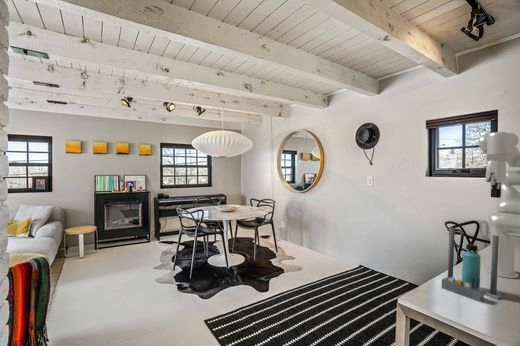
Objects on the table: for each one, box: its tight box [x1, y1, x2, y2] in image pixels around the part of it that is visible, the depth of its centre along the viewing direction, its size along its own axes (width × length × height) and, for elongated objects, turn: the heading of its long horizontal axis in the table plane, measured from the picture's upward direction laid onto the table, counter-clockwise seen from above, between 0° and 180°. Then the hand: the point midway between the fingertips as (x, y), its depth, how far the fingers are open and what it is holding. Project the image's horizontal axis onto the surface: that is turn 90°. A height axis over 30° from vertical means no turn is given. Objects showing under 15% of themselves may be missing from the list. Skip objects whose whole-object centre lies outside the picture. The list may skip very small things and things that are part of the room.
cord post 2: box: [484, 235, 502, 300], centre depth 111 cm, size 4×4×26 cm
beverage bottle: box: [461, 243, 482, 288], centre depth 117 cm, size 6×7×20 cm
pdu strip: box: [441, 276, 485, 303], centre depth 113 cm, size 4×14×5 cm, turn 32°
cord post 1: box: [446, 227, 457, 281], centre depth 124 cm, size 4×4×26 cm
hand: (495, 197), depth 123 cm, fingers closed
